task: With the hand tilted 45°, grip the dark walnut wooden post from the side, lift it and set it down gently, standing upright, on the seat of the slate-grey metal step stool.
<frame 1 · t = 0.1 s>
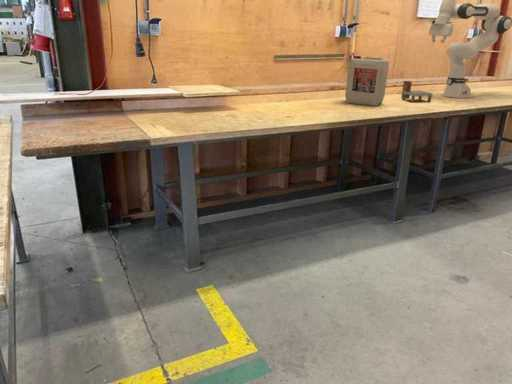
hand: (437, 42, 300), 39 cm above the table, fingers open, 8 cm apart
walnut post: (405, 97, 308), on the table
jerry can: (364, 103, 281), on the table
step stool: (416, 100, 297), on the table
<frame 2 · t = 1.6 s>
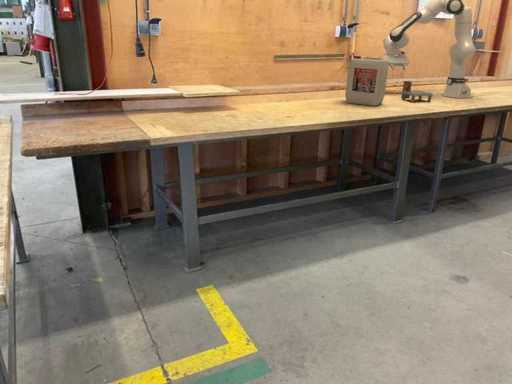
hand: (399, 69, 311), 19 cm above the table, fingers open, 8 cm apart
nothing on the table moved.
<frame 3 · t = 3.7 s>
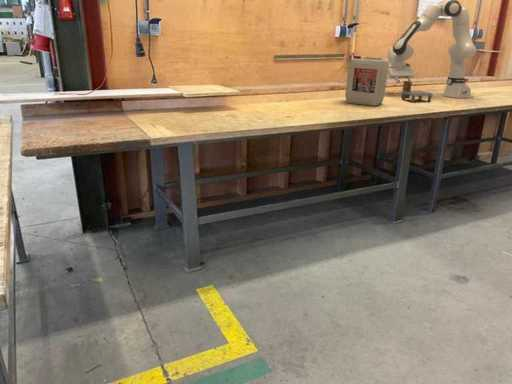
hand: (404, 82, 307), 11 cm above the table, fingers open, 8 cm apart
nothing on the table moved.
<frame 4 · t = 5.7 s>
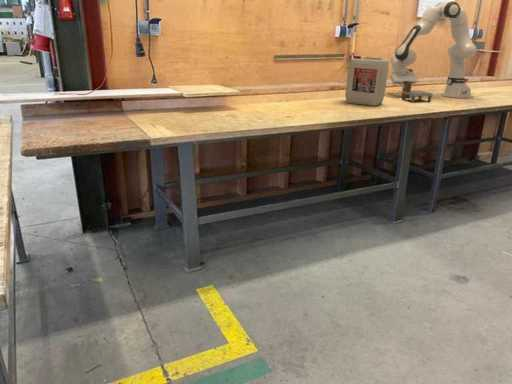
hand: (407, 88, 304), 7 cm above the table, fingers closed on walnut post, 4 cm apart
walnut post: (405, 97, 308), on the table, touching gripper
everything else where it was.
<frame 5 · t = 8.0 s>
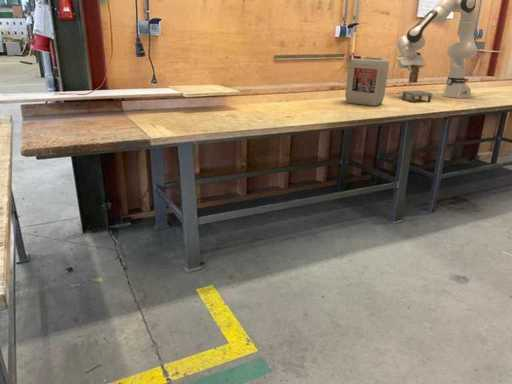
hand: (415, 71, 295), 19 cm above the table, fingers closed on walnut post, 4 cm apart
walnut post: (412, 82, 298), point 12 cm above the table, touching gripper
everything else where it was.
when the fingers open (14 cm above the table, at t = 10.5 s): walnut post stays where it is, resting on step stool.
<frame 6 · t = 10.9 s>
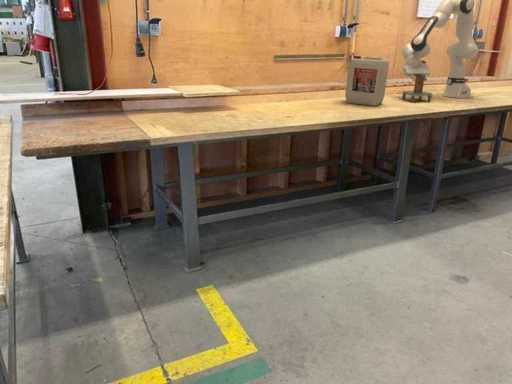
hand: (420, 80, 291), 14 cm above the table, fingers open, 8 cm apart
walnut post: (417, 92, 294), point 6 cm above the table, touching step stool
everything else where it was.
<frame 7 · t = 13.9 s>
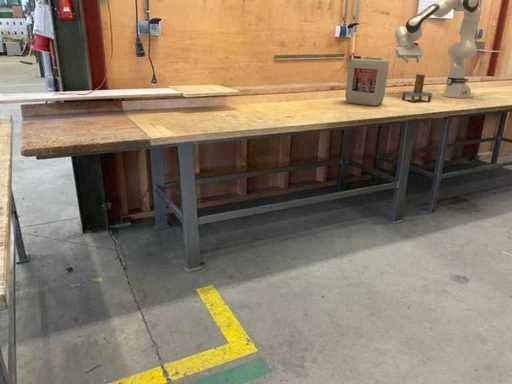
hand: (412, 61, 296), 26 cm above the table, fingers open, 8 cm apart
nothing on the table moved.
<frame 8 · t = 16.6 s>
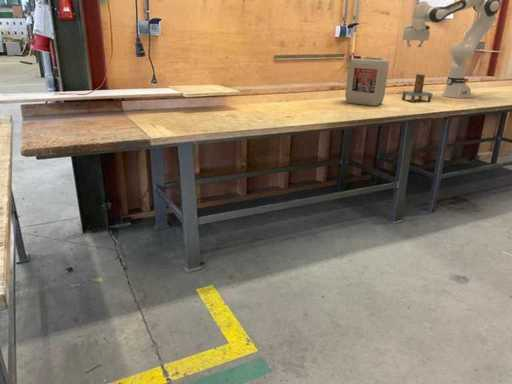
hand: (414, 47, 302), 35 cm above the table, fingers open, 8 cm apart
nothing on the table moved.
at the end: walnut post inside the target area on the step stool (0.1 cm from its centre), point 6.0 cm above the step stool's base; walnut post tilted 0°; the gripper is holding nothing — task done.
